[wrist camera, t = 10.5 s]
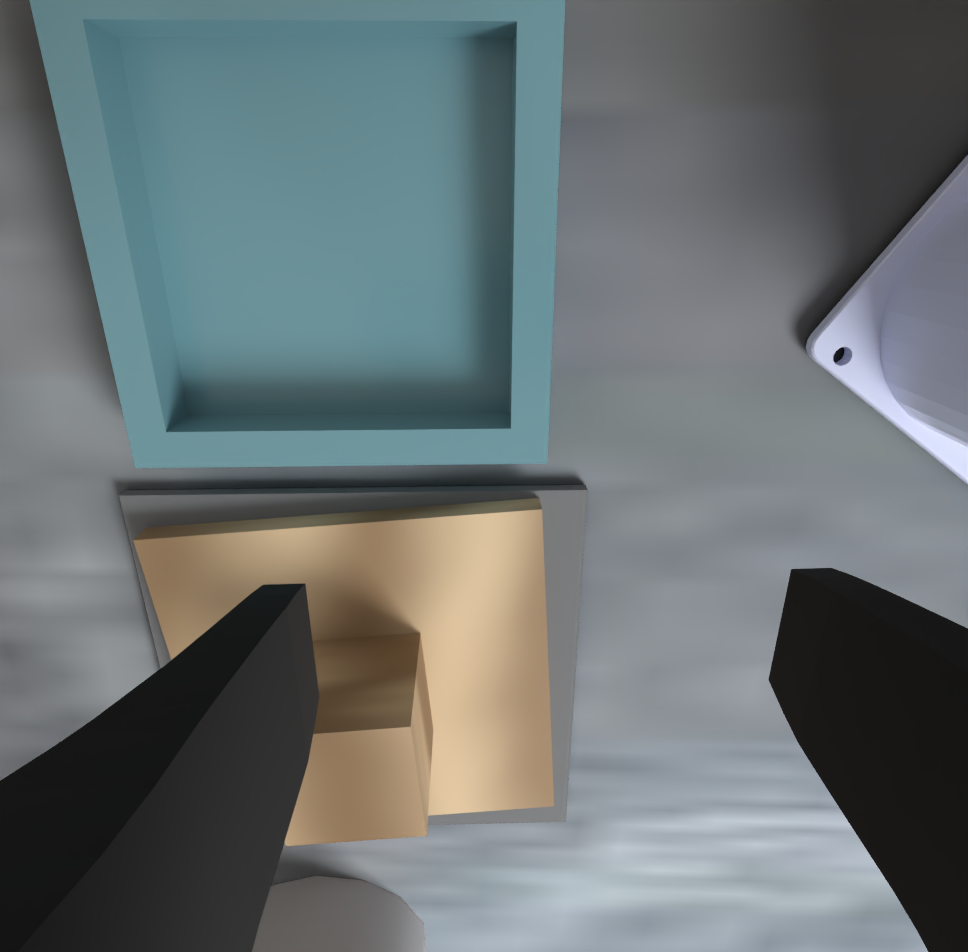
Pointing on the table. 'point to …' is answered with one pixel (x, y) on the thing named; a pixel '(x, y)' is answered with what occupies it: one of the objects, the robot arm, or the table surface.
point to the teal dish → (317, 222)
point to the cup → (337, 918)
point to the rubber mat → (557, 502)
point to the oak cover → (391, 653)
